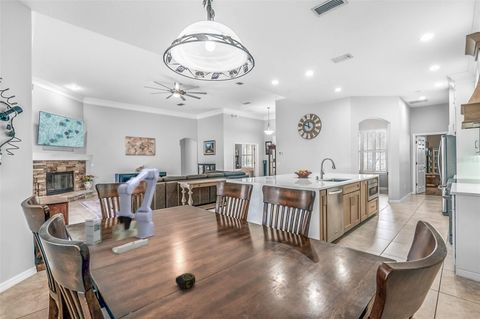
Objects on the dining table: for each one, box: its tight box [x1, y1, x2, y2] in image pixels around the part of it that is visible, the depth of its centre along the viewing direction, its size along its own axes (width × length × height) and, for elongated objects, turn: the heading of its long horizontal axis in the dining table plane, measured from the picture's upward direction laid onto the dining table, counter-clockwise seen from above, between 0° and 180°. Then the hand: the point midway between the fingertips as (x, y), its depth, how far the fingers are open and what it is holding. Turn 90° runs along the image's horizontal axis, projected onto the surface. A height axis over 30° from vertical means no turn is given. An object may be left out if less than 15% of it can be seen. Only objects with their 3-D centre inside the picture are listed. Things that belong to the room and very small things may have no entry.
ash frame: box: [111, 220, 137, 242], centre depth 134 cm, size 14×2×8 cm, turn 150°
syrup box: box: [84, 216, 102, 246], centre depth 139 cm, size 6×6×14 cm
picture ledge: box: [111, 238, 149, 255], centre depth 131 cm, size 17×7×4 cm, turn 143°
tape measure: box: [175, 272, 196, 291], centre depth 92 cm, size 7×7×4 cm
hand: (125, 229), depth 134 cm, fingers closed on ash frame, 3 cm apart
